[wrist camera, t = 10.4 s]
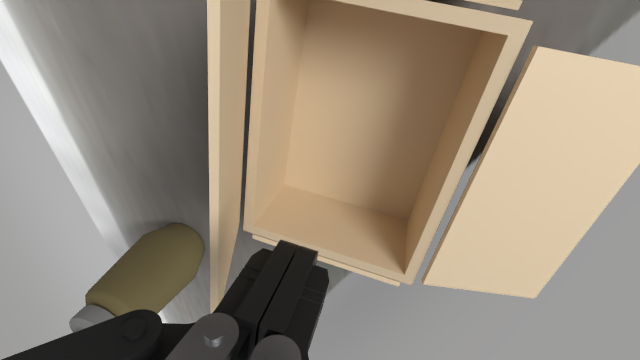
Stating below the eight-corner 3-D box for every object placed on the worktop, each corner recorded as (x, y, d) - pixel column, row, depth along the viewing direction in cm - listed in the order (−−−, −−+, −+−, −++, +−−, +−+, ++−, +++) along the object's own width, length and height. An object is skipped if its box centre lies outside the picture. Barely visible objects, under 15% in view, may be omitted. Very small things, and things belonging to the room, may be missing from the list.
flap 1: (243, -14, 18) (207, -12, 10) (251, -12, 18) (219, -9, 10) (234, 222, 26) (210, 321, 18) (239, 223, 26) (217, 322, 19)
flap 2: (538, 46, 15) (704, 78, 16) (533, 45, 16) (696, 76, 16) (422, 284, 24) (534, 298, 25) (421, 279, 24) (531, 294, 25)
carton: (307, -57, 23) (261, -85, 16) (513, -21, 21) (558, -35, 14) (276, 203, 35) (242, 249, 28) (406, 243, 33) (402, 304, 26)
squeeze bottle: (221, 239, 40) (98, 381, 25) (202, 273, 44) (88, 413, 29) (166, 203, 40) (8, 325, 24) (153, 242, 44) (11, 366, 29)
